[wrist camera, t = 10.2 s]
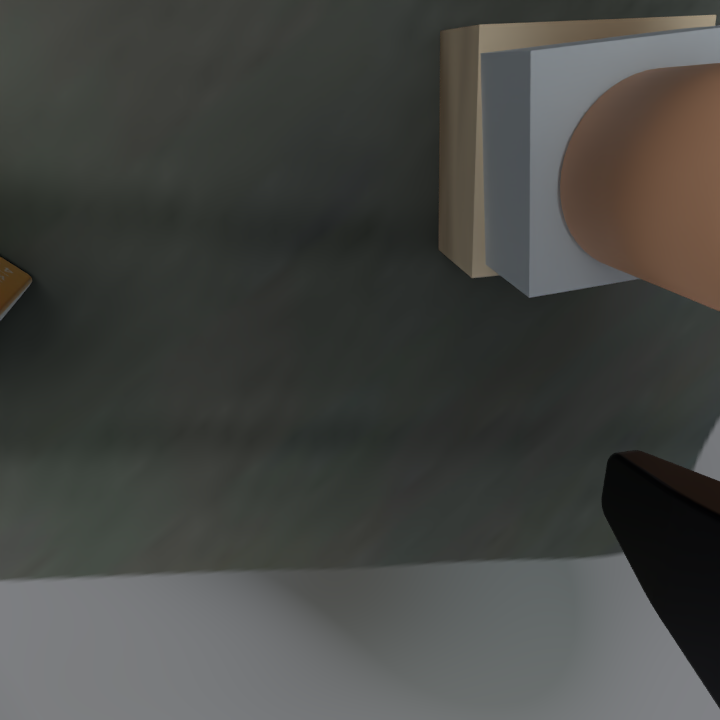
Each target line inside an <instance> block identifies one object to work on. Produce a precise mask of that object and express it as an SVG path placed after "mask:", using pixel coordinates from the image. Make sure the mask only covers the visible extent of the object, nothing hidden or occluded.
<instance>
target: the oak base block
mask: <svg viewBox="0 0 720 720" xmlns="http://www.w3.org/2000/svg"><path fill="white" fill-rule="evenodd" d="M716 16H717V15H700V16H676V17H651V18H627V19H603V20H579V21H554V22H530V23H506V24H481V25H474V26H468V27H462V28H455V29H449V30H443V31H440V132H439V251H441V252H442V253H443V254H444V255H445V256H447V257H448V258H449V259H450V260H451V261H452V262H454V263H455V264H456V265H457V266H458V267H459V268H461V269H462V270H463V271H464V272H465V273H466V274H468V275H469V276H470V277H471V278H479V277H488V276H498V275H499V274H498V273H496V272H495V271H494V270H492V269H491V268H490V267H488V266H487V265H486V259H485V219H484V178H483V138H482V97H481V56H480V53H487V52H495V51H503V50H511V49H519V48H528V47H536V46H544V45H552V44H560V43H568V42H577V41H585V40H593V39H601V38H609V37H617V36H626V35H634V34H642V33H650V32H658V31H667V30H675V29H683V28H696V27H708V26H715V22H716Z"/></svg>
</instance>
